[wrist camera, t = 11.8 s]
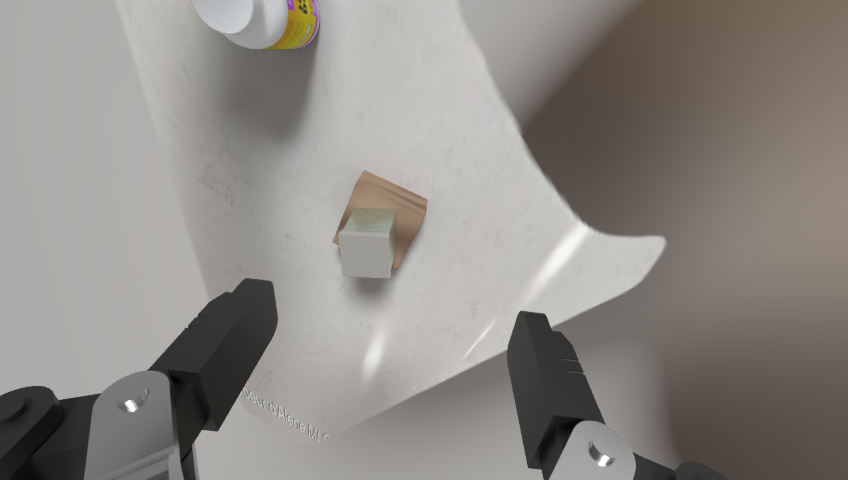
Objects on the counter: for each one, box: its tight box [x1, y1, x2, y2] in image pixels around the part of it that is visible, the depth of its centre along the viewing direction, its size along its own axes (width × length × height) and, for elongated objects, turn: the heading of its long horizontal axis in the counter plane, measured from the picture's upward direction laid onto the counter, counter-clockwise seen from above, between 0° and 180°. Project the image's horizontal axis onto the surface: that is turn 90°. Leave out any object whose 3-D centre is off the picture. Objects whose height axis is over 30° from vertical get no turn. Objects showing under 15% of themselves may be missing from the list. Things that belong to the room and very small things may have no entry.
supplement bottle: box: [191, 0, 319, 49], centre depth 31 cm, size 7×7×13 cm
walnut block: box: [332, 170, 427, 269], centre depth 45 cm, size 9×9×5 cm
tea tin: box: [338, 208, 397, 279], centre depth 40 cm, size 5×5×7 cm
